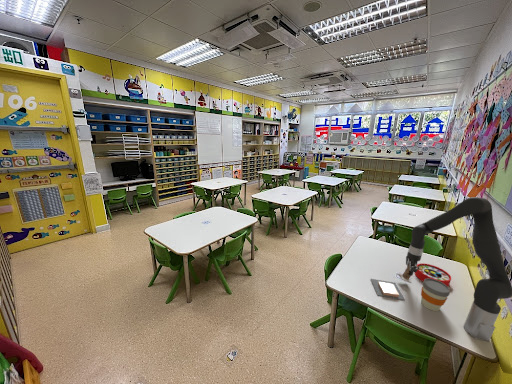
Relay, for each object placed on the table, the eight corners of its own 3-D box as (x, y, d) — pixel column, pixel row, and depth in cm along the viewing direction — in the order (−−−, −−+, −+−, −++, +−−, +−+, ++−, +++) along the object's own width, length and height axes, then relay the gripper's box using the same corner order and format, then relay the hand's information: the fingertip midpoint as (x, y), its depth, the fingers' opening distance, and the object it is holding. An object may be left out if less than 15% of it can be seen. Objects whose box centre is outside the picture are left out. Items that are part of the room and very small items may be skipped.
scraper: (411, 283, 143) (418, 270, 139) (402, 280, 143) (409, 267, 140) (407, 277, 148) (414, 265, 145) (398, 274, 149) (405, 262, 145)
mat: (404, 300, 131) (405, 299, 131) (377, 295, 135) (377, 294, 135) (394, 283, 146) (395, 282, 146) (370, 279, 150) (370, 278, 150)
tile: (392, 286, 142) (398, 297, 133) (378, 284, 144) (383, 295, 135) (393, 284, 141) (399, 294, 132) (378, 281, 143) (383, 292, 134)
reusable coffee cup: (444, 317, 120) (452, 296, 116) (418, 306, 127) (424, 286, 122) (441, 303, 130) (448, 283, 126) (417, 294, 137) (422, 275, 132)
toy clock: (410, 261, 162) (439, 265, 159) (409, 268, 164) (437, 271, 161) (426, 279, 143) (458, 283, 140) (424, 285, 145) (456, 290, 142)
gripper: (427, 259, 132) (420, 281, 137) (416, 247, 145) (410, 268, 150) (413, 257, 133) (407, 279, 138) (404, 246, 147) (399, 266, 151)
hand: (409, 273), depth 144 cm, fingers closed on scraper, 3 cm apart
